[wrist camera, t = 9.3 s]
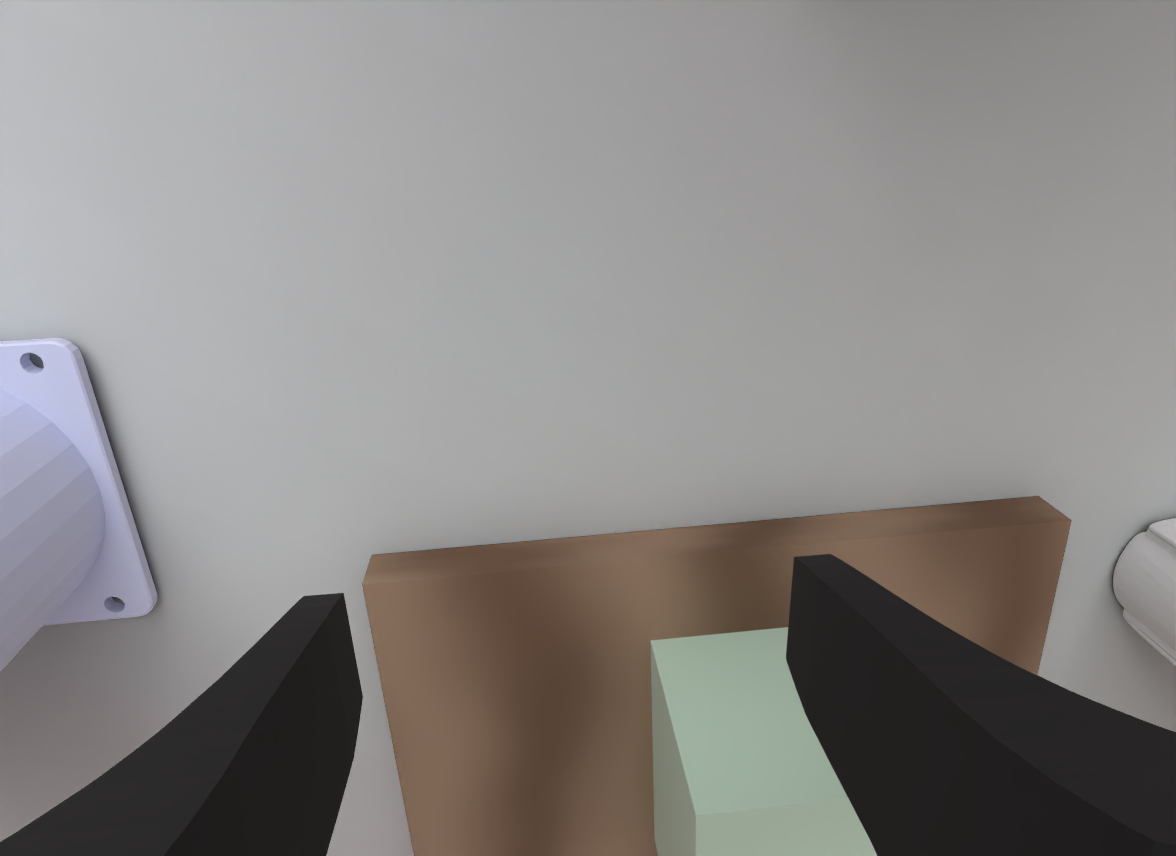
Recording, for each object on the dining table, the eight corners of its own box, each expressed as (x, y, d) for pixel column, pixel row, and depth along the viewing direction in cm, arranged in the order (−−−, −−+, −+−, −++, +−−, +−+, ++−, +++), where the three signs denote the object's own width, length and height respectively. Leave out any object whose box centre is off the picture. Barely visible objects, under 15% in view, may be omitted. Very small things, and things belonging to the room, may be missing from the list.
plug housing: (654, 838, 25) (694, 1040, 20) (650, 640, 22) (695, 814, 17) (785, 823, 26) (859, 1019, 20) (799, 625, 23) (891, 793, 17)
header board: (432, 891, 27) (420, 1011, 24) (371, 554, 22) (343, 643, 18) (971, 828, 29) (1039, 933, 25) (1038, 496, 23) (1136, 568, 20)
